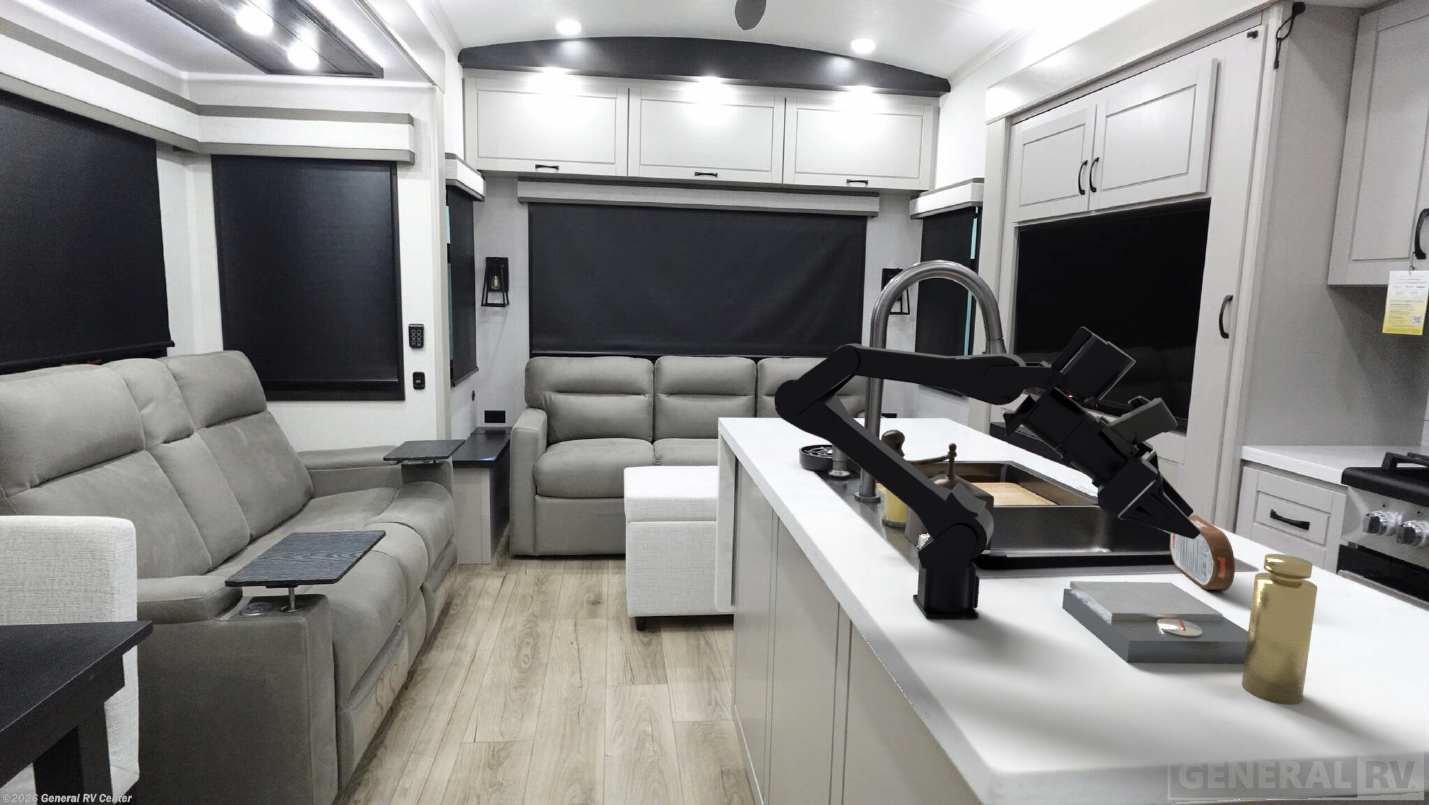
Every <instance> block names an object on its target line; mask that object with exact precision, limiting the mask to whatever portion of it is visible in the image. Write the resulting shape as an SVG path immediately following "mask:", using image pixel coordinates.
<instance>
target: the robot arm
mask: <svg viewBox="0 0 1429 805" xmlns="http://www.w3.org/2000/svg"><path fill="white" fill-rule="evenodd" d="M1136 362H1137V361H1136V360H1135V359H1134V358H1132V357H1131V356H1130V355H1128V354H1127V353H1126V352H1124V350H1122V349H1120V348H1119V347H1117V346H1116V345H1115V344H1114V343H1112V342H1110V341H1109V340H1108V341H1107V340H1104V339H1103V338H1102V337H1100V336H1099V335H1097V334H1095V333H1093V332H1092V331H1090V329H1088V328H1086V327H1085V326H1081V327H1080V328H1079V329H1078V330H1077V331H1076V332H1075V334H1074V335H1072V338H1071V340H1070V342H1069V343H1068V345H1067V346H1066V347H1065V348H1064V349H1063V350H1062V351H1061V352H1060V353H1059V355H1058V356H1056V358H1055V359H1054V360H1053V361H1052V362H1046V360H1042V361H1041V362H1037V361H1036V362H1035V361H1034V362H1032V361H1031V362H1029V361H1028V362H1027V361H1024V360H1023V359H1022V358H1021V357H1020V356H1018V355H1016V354H1013V353H1009V352H1008V353H1007V352H1004V353H1003V352H1002V353H1001V352H999V353H986V354H985V353H981V354H968V355H956V356H955V355H953V356H952V355H951V356H950V355H949V356H948V355H940V354H933V353H924V352H915V351H907V350H898V349H890V348H889V349H888V348H881V347H872V346H864V345H862V344H860V343H847V344H842V345H840V346H838V347H837V348H836V349H835V350H834V352H833V353H830V355H829V356H827V357H826V358H824V359H823V360H822V361H821V362H819V363H817V364H816V365H815V366H814V367H812V368H810V369H809V370H807V371H805V373H803V374H802V375H801V376H800V377H796V378H791V379H787V380H786V381H784V382H782V383H781V384H780V385H779V386H778V387H777V389H776V391H775V393H774V399H773V401H774V402H773V403H774V410H775V412H776V414H777V415H778V416H779V418H781V419H782V420H783V421H785V422H786V423H788V424H790V425H792V426H793V427H795V428H797V429H798V430H800V431H802V432H804V433H806V434H810V435H813V436H814V437H818V438H820V439H823V440H825V441H826V442H829V444H831V445H832V446H833V447H834V448H836V450H838V451H839V452H840V453H842V454H844V456H845V457H847V458H848V459H849V460H850V461H852V462H853V463H854V464H855V465H857V467H859V468H860V469H862V470H863V471H864V472H865V473H867V474H868V475H869V476H870V477H871V478H872V479H874V480H875V481H876V482H878V483H879V484H880V485H881V486H882V487H884V488H885V489H886V490H887V491H889V492H890V493H891V494H892V495H894V496H895V497H896V498H898V500H900V501H901V502H903V503H904V504H905V505H906V507H907V506H908V507H910V508H911V509H912V510H913V511H914V512H915V514H916V515H917V517H918V518H919V520H920V521H921V523H922V525H923V526H924V528H925V529H926V531H927V533H928V534H929V535H930V537H929V538H928V540H927V541H926V542H925V544H924V545H923V546H922V547H921V549H920V550H919V549H918V551H917V556H918V560H919V562H918V575H917V576H918V578H917V579H918V580H917V593H916V594H912V599H913V601H914V602H915V604H916V605H917V606H918V608H919V609H920V611H921V612H922V614H923V615H924V617H926V618H928V619H979V613H978V612H977V610H976V609H977V608H978V606H979V594H980V593H979V592H980V591H979V590H980V577H979V576H978V574H977V565H976V564H975V563H974V562H973V560H974V559H976V558H978V557H980V556H981V555H980V554H981V553H982V552H983V551H984V549H985V548H986V546H987V544H988V542H989V540H990V538H991V536H992V537H993V534H994V528H995V525H994V516H993V517H992V515H991V514H990V512H989V511H988V510H987V509H986V508H985V507H984V506H985V504H986V501H983V500H980V499H978V498H976V497H975V496H973V495H972V494H971V493H970V492H969V491H968V490H967V489H966V487H965V486H963V485H962V484H961V483H958V484H957V485H956V486H955V487H954V489H953V490H950V489H947V488H945V487H942V486H940V485H938V484H936V483H934V482H933V481H932V480H931V479H930V478H929V477H928V476H927V475H925V474H924V473H923V472H922V471H920V470H919V468H917V467H916V466H913V465H912V464H910V463H909V462H908V461H909V460H908V461H907V459H906V458H904V457H902V456H900V455H899V454H898V453H896V452H895V451H894V450H893V449H891V448H890V447H889V446H888V445H886V444H885V443H884V442H883V441H881V438H879V437H878V436H877V435H875V434H874V433H873V432H872V431H870V430H869V429H868V428H866V427H865V426H864V425H863V424H861V423H859V421H857V420H856V418H853V416H851V414H850V413H849V412H848V409H846V407H845V405H844V403H843V402H842V400H841V398H840V397H839V396H838V393H839V392H840V391H841V390H843V388H845V387H846V386H847V384H849V383H850V381H851V380H853V379H854V378H855V377H865V378H870V379H871V378H872V379H878V380H884V381H885V380H886V381H895V382H901V383H902V382H903V383H909V384H918V385H922V386H923V385H924V386H931V387H937V388H944V389H945V390H950V391H953V392H955V393H957V394H959V395H962V396H965V397H967V398H969V399H974V400H976V401H979V402H984V403H985V404H990V405H994V406H1005V405H1009V404H1011V403H1013V402H1014V401H1015V400H1018V399H1019V398H1020V397H1021V396H1022V395H1023V394H1024V393H1025V391H1026V390H1029V389H1033V388H1035V387H1039V386H1041V385H1043V384H1044V383H1045V382H1046V380H1047V379H1048V378H1049V377H1050V376H1051V375H1055V376H1056V378H1055V379H1054V381H1053V382H1052V383H1051V384H1050V385H1049V386H1048V387H1047V388H1046V390H1044V392H1043V393H1042V394H1041V395H1040V396H1038V395H1036V394H1033V393H1029V394H1028V395H1027V396H1026V398H1024V399H1023V401H1022V402H1021V403H1020V404H1019V405H1018V406H1017V408H1016V409H1015V410H1013V411H1005V412H1004V413H1002V418H1003V420H1004V425H1005V436H1007V437H1012V436H1013V435H1014V434H1015V433H1016V431H1017V430H1018V429H1019V428H1020V427H1021V426H1022V427H1024V428H1025V429H1026V430H1028V432H1030V433H1031V434H1032V435H1034V436H1036V438H1038V440H1040V441H1042V442H1043V443H1044V444H1045V445H1047V447H1049V448H1051V449H1052V450H1053V451H1055V452H1056V453H1057V454H1058V455H1060V456H1061V457H1060V460H1061V461H1062V462H1063V463H1065V464H1066V465H1067V466H1069V465H1070V464H1071V465H1073V466H1074V467H1075V468H1076V469H1078V470H1079V471H1080V472H1082V473H1083V474H1084V475H1085V476H1087V477H1088V478H1089V479H1090V480H1091V485H1092V486H1094V487H1095V488H1097V492H1096V493H1097V495H1096V496H1097V504H1098V505H1097V506H1098V508H1100V509H1101V510H1102V511H1104V512H1105V513H1106V514H1107V515H1108V516H1110V517H1111V518H1112V519H1115V518H1116V517H1117V518H1118V519H1120V520H1126V521H1130V522H1134V523H1137V524H1141V525H1144V526H1147V527H1151V528H1155V529H1158V530H1162V531H1165V532H1168V533H1170V532H1171V533H1174V534H1177V535H1180V536H1184V537H1187V538H1190V539H1195V538H1196V537H1197V536H1198V535H1199V534H1200V530H1199V529H1198V528H1197V527H1196V526H1195V525H1194V524H1193V523H1192V521H1191V520H1190V519H1189V518H1188V517H1189V516H1192V515H1193V513H1194V509H1193V508H1192V506H1190V504H1189V503H1188V502H1187V501H1186V500H1185V499H1184V498H1183V496H1182V495H1181V494H1180V493H1179V492H1178V491H1177V490H1176V489H1175V488H1174V486H1173V485H1172V483H1170V482H1169V481H1168V480H1167V479H1166V477H1165V476H1164V475H1163V474H1162V472H1161V471H1160V467H1159V466H1160V465H1159V457H1158V452H1157V451H1156V450H1154V446H1153V445H1152V444H1150V443H1149V442H1148V441H1147V440H1150V439H1152V438H1154V437H1156V436H1158V435H1160V434H1162V433H1164V434H1167V433H1169V432H1171V431H1173V430H1174V429H1176V428H1177V427H1178V426H1179V424H1178V421H1177V419H1176V418H1175V416H1173V414H1172V412H1171V411H1170V409H1169V408H1168V406H1167V405H1166V403H1165V402H1164V400H1163V399H1162V397H1158V398H1157V397H1155V398H1154V399H1153V400H1149V399H1147V398H1145V397H1144V396H1142V395H1138V396H1136V397H1134V398H1132V399H1130V400H1128V401H1127V405H1128V412H1127V413H1123V414H1122V415H1121V416H1120V417H1118V418H1116V419H1114V420H1111V421H1110V420H1108V418H1106V417H1104V415H1100V416H1099V415H1097V416H1095V415H1094V414H1092V413H1091V412H1089V411H1088V410H1087V409H1085V408H1084V407H1083V406H1081V405H1080V404H1078V402H1076V401H1074V399H1072V398H1071V397H1069V396H1068V395H1067V394H1066V393H1064V392H1063V391H1061V390H1060V389H1058V388H1057V385H1060V386H1061V387H1063V388H1064V389H1065V390H1066V391H1068V393H1070V394H1072V396H1074V397H1075V398H1077V399H1079V400H1081V401H1082V402H1084V403H1086V402H1088V401H1089V400H1090V399H1092V398H1095V399H1096V400H1097V401H1102V399H1103V398H1104V397H1105V396H1106V395H1107V393H1109V392H1110V391H1111V389H1112V388H1113V387H1114V386H1115V385H1116V384H1117V382H1119V381H1120V380H1121V379H1122V378H1123V377H1124V376H1125V375H1126V374H1127V372H1128V371H1129V370H1130V369H1131V368H1132V367H1133V366H1134V365H1135V363H1136ZM1146 454H1150V455H1149V456H1148V457H1147V458H1144V456H1145V455H1146Z"/></svg>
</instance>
